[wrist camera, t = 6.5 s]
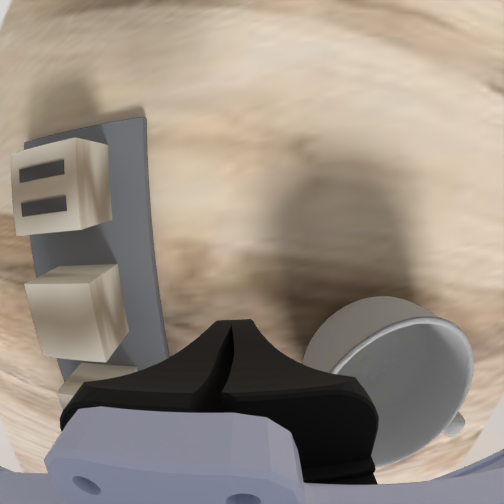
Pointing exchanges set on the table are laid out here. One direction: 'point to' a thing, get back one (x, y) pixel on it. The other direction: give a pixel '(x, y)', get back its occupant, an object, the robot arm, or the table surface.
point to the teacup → (399, 369)
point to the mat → (116, 243)
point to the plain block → (78, 311)
